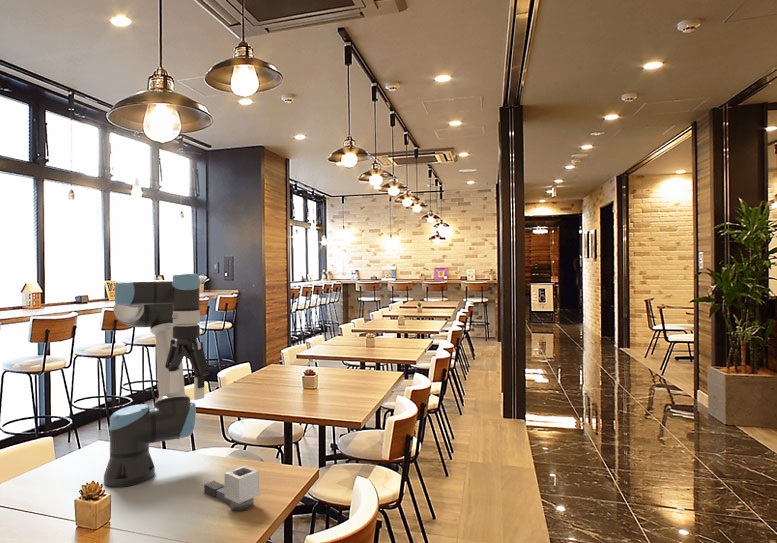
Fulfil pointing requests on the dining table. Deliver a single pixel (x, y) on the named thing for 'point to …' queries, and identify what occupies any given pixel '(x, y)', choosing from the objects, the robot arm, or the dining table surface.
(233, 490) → the socket
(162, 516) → the dining table surface
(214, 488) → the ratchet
